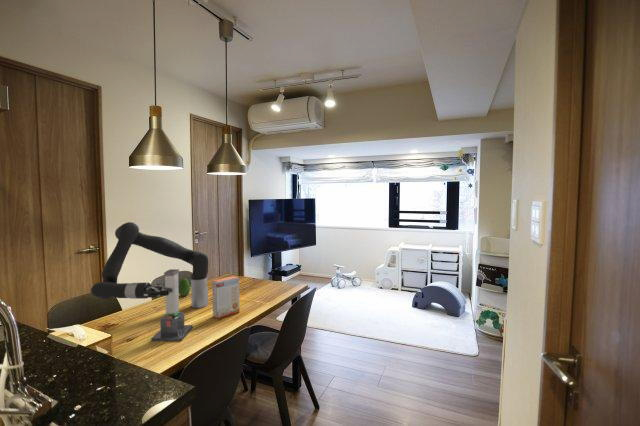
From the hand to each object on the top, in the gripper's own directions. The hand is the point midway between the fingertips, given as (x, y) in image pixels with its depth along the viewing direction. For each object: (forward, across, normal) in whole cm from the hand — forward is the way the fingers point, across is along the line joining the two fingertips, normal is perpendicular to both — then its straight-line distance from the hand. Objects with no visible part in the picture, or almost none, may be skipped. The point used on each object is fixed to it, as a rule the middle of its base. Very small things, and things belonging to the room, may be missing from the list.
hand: (172, 290), depth 148 cm
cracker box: (+20, +25, +22) cm, 39 cm away
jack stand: (0, 0, +22) cm, 22 cm away
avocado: (-17, +58, +22) cm, 65 cm away
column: (0, 0, +14) cm, 15 cm away
